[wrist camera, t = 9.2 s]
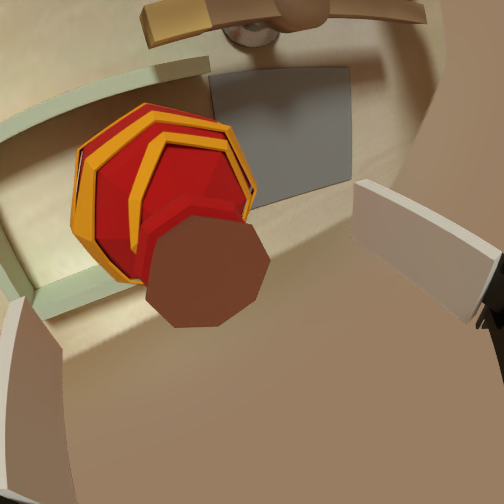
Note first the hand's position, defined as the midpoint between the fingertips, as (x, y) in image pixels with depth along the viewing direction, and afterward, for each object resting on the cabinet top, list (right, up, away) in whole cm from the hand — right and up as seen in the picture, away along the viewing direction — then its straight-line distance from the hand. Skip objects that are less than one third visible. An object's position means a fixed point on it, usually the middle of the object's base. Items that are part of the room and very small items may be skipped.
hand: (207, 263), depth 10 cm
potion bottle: (-6, +7, +11) cm, 14 cm away
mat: (+5, +11, +14) cm, 19 cm away
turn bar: (+6, +17, +4) cm, 19 cm away
